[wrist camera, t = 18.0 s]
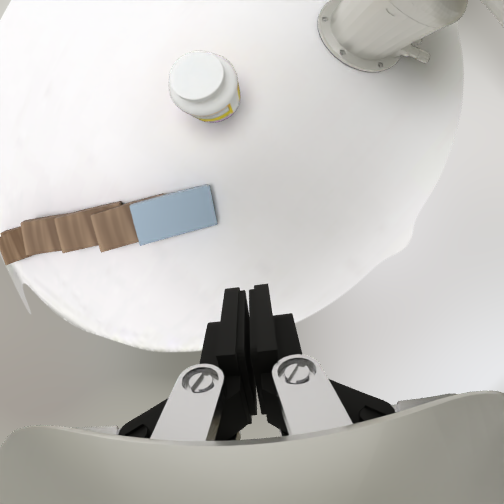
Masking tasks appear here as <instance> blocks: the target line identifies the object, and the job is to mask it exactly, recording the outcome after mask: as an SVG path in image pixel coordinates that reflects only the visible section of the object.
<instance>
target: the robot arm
mask: <svg viewBox="0 0 504 504" xmlns="http://www.w3.org/2000/svg"><path fill="white" fill-rule="evenodd" d="M480 1H481V2H482V3H483V4H484V5H485V6H486V7H487V8H488V9H489V10H490V11H491V13H492V14H493V15H494V16H495V17H496V19H497V20H498V21H499V22H500V23H501V25H502V26H503V27H504V0H480ZM467 3H468V0H330V1H329V2H328V3H327V4H325V5H324V7H323V8H322V10H321V12H320V14H319V17H318V30H319V33H320V36H321V38H322V40H323V42H324V44H325V45H326V47H327V48H328V49H329V51H330V52H331V53H332V54H333V55H334V56H335V57H337V58H338V59H339V60H341V61H342V62H343V63H345V64H347V65H349V66H351V67H353V68H356V69H358V70H362V71H366V72H378V71H383V70H386V69H388V68H390V67H392V66H394V65H395V64H396V63H397V62H398V61H399V59H400V57H401V55H403V56H405V57H408V56H411V57H413V58H415V59H417V60H419V61H421V62H423V63H427V62H428V61H429V59H430V55H429V53H428V52H426V51H424V50H422V49H420V48H417V47H414V46H412V44H411V43H413V42H414V43H416V44H421V42H422V38H423V37H425V36H427V35H429V34H431V33H433V32H435V31H437V30H440V29H442V28H444V27H446V26H449V25H451V24H453V23H455V22H456V21H458V20H459V19H460V18H461V17H462V15H463V14H464V12H465V10H466V7H467ZM324 21H325V22H324ZM340 53H341V54H342V55H341V54H340ZM378 65H379V66H378ZM249 314H250V317H249ZM256 388H257V393H258V398H259V403H260V408H261V413H262V414H266V415H267V421H268V423H270V424H272V425H273V426H275V427H277V428H278V429H279V431H280V436H281V437H273V438H262V439H250V440H240V439H241V432H240V430H241V429H243V428H244V427H245V426H246V425H248V424H251V423H252V418H251V415H257V399H256ZM0 504H504V393H501V392H498V391H476V392H467V393H462V394H445V395H440V396H433V397H427V398H420V399H412V400H404V401H398V403H397V405H390V404H389V403H387V402H385V401H384V400H381V399H378V398H376V397H373V396H370V395H367V394H365V393H362V392H360V391H357V390H355V389H352V388H349V387H347V386H345V385H342V384H339V383H337V382H335V381H332V380H330V379H328V377H327V375H326V374H325V372H324V370H323V368H322V366H321V364H320V363H319V362H318V361H317V360H316V359H314V358H313V357H311V356H307V355H302V351H301V347H300V343H299V339H298V335H297V331H296V327H295V323H294V319H293V315H292V313H290V314H283V315H275V316H273V315H272V308H271V301H270V294H269V287H268V284H262V285H254V289H251V290H249V311H248V305H247V299H246V293H245V290H243V291H240V288H239V287H238V288H229V289H225V293H224V300H223V307H222V314H221V321H220V322H211V323H208V325H207V329H206V334H205V339H204V344H203V349H202V354H201V359H200V364H198V365H194V366H192V367H189V368H187V369H186V370H184V371H183V372H182V373H181V374H180V376H179V377H178V379H177V381H176V383H175V385H174V388H173V390H172V392H171V394H170V396H169V398H168V399H166V400H164V401H163V402H161V403H159V404H158V405H156V406H154V407H153V408H151V409H150V410H148V411H147V412H145V413H143V414H142V415H140V416H138V417H136V418H134V419H133V420H131V421H129V422H128V423H126V424H125V425H124V426H123V427H122V428H121V429H119V428H118V426H105V427H78V428H70V427H62V426H53V425H51V426H50V425H36V426H28V427H24V428H20V429H18V430H15V431H14V432H12V433H11V434H10V435H9V436H8V437H7V439H6V440H5V441H4V443H3V444H2V445H1V447H0Z"/></svg>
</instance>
